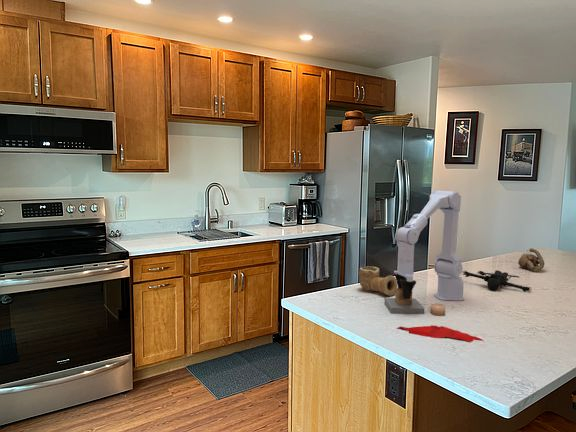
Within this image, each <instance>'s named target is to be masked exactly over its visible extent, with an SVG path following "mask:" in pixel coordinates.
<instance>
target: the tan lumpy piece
mask: <svg viewBox="0 0 576 432" xmlns="http://www.w3.org/2000/svg"><path fill="white" fill-rule="evenodd" d="M529 252H530V253H523V254H521V255H520V257H519V259H518V261H517V262H518V265H519V266H520V267H521V268H522V269H524V268H525V270H531V271H532V272H534V273H539V271H540V272H542V271H543V269H544V267H545V260H544V258H543V256H542V254H541V252H539V250H537V249H534V248H529ZM532 253H534V254H532Z"/></svg>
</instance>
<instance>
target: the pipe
mask: <svg viewBox="0 0 576 432" xmlns="http://www.w3.org/2000/svg"><path fill="white" fill-rule="evenodd" d="M358 278H359V285H360V287H361V288H363V289H364V290H365V291H368V292H379V293H380V292H381V293H383V294H384V295H387V296H388V297H389V296H394V295H395V294H396V288H398V285H397V280H396V277H395V275H391V274H390V275H387V276H385V277H380V268H379V267H377V266H364V267H360V268H359V271H358Z"/></svg>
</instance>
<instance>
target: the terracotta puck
mask: <svg viewBox="0 0 576 432" xmlns="http://www.w3.org/2000/svg"><path fill="white" fill-rule="evenodd" d="M429 309H430V310H429V311H430V312H429V314H431V315H433V316H437V317H438V316H439V317H442V316H445V315H446V305H444V304H441V303H430V307H429Z"/></svg>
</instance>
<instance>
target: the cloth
mask: <svg viewBox="0 0 576 432" xmlns="http://www.w3.org/2000/svg"><path fill="white" fill-rule="evenodd" d="M396 330H405V331H406V332H408V334H411V335H416V336H421V337H425V338H427V337H429V338H432V339H443V338H448V339H449V338H450V339H456V340H459V341H465V342H469V343H472V342H474V341H480V342H483V341H484V339H482V338H480V337H478V336H474V335H471V334H469V333H468V332H467V333H466V332H462V331H459V330H455V329H452V328H449V327H448V326H447V327H446V326H443V325H440V326H438V325H433V324H431V325H422V326H413V327H412V326H411V327H405V326H398V327H397V328H396Z"/></svg>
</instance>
